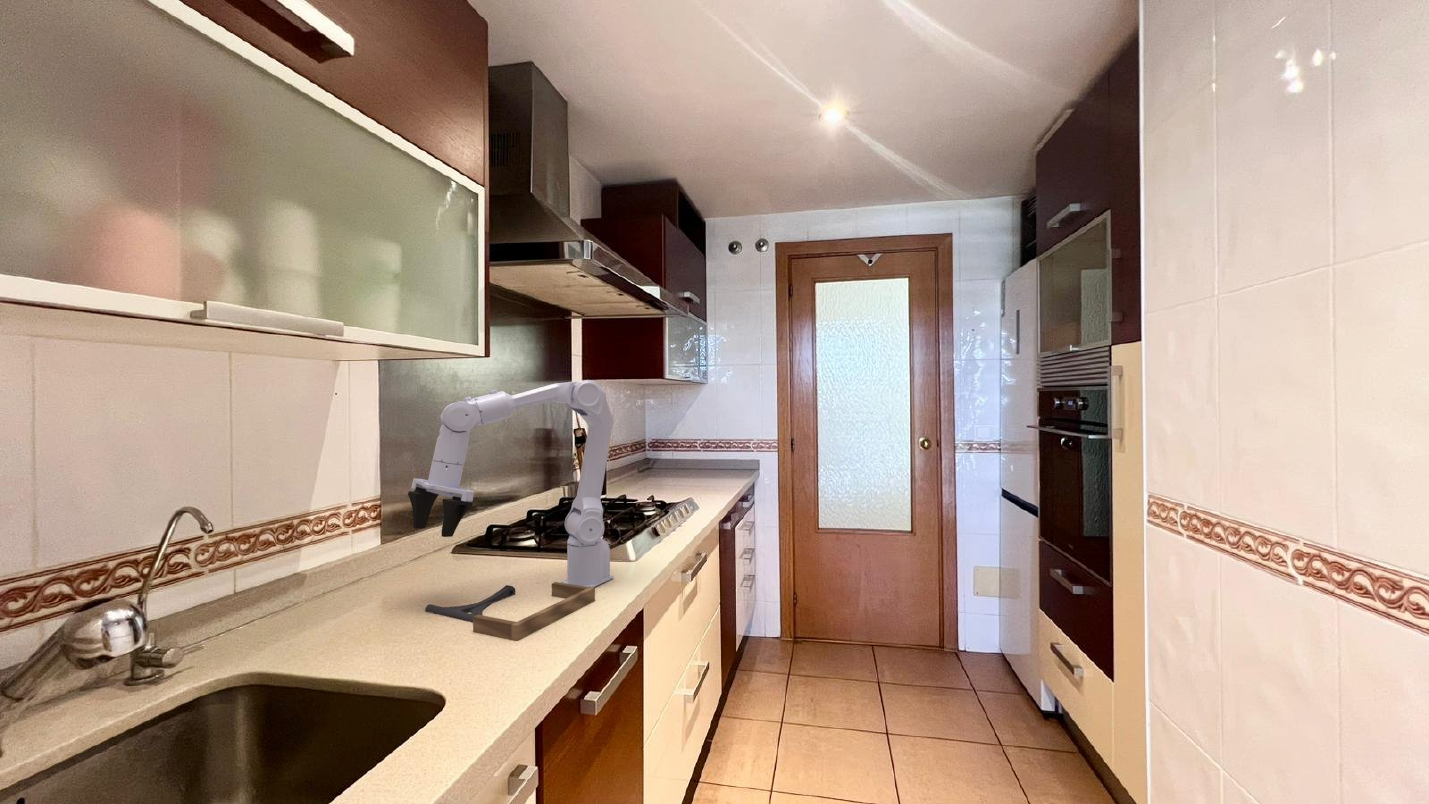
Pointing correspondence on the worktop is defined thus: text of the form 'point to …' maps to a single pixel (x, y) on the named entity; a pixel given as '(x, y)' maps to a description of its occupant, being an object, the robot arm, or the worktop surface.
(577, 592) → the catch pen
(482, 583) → the worktop surface
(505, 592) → the bracket
